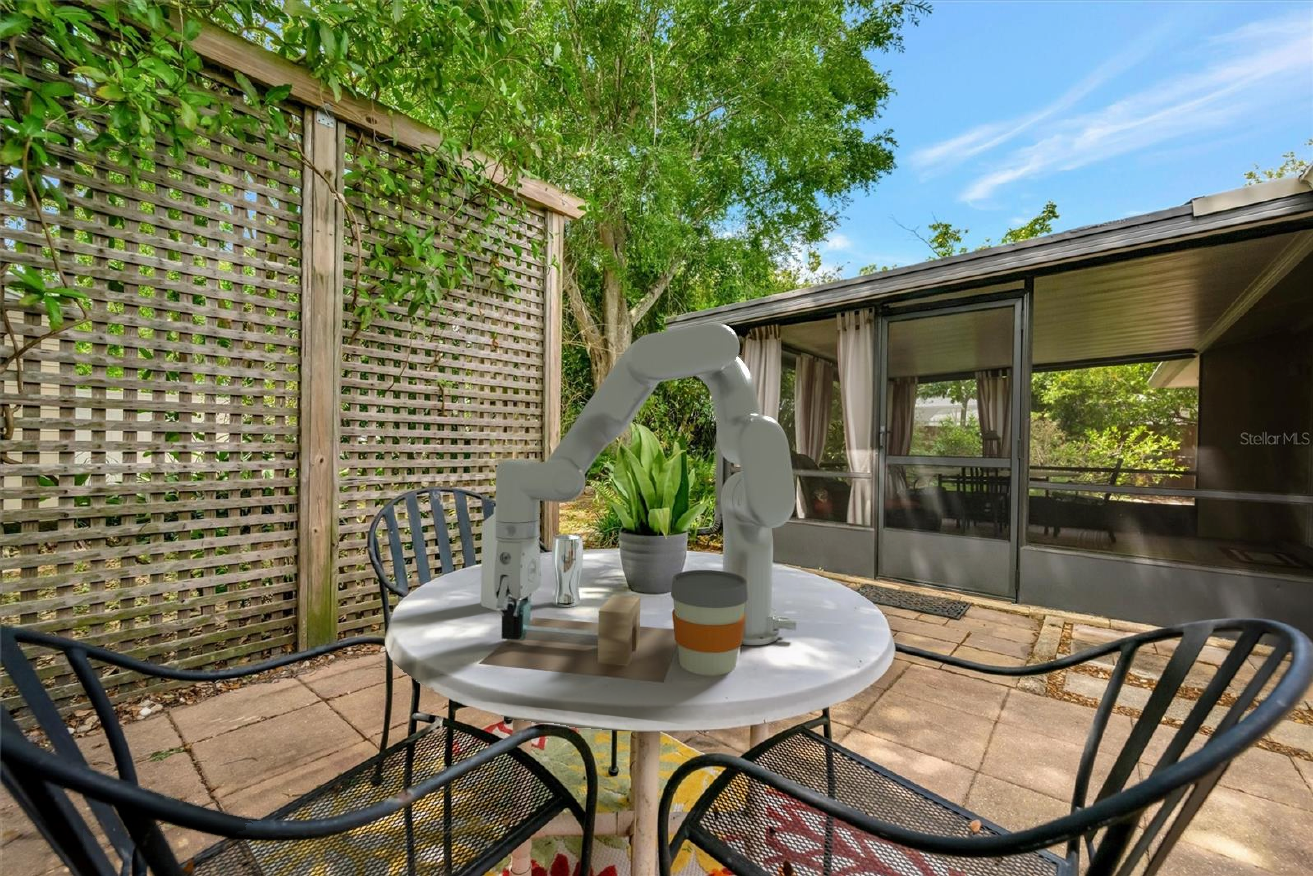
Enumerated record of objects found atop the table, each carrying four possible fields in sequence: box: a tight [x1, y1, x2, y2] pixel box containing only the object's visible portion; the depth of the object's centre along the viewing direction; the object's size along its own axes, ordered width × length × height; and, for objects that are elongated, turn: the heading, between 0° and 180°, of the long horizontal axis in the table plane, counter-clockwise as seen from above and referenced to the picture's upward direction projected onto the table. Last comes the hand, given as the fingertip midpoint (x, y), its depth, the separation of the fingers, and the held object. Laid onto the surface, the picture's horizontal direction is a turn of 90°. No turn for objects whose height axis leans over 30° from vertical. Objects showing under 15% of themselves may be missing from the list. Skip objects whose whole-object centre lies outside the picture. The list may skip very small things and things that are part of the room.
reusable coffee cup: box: [670, 569, 748, 676], centre depth 90 cm, size 13×13×15 cm
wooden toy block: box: [598, 594, 641, 666], centre depth 93 cm, size 5×9×8 cm, turn 170°
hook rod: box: [500, 600, 598, 646], centre depth 95 cm, size 21×3×6 cm, turn 80°
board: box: [478, 617, 678, 683], centre depth 97 cm, size 30×22×1 cm
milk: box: [480, 506, 512, 612], centre depth 118 cm, size 6×6×22 cm
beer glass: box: [551, 533, 584, 608], centre depth 124 cm, size 7×7×15 cm
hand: (516, 633), depth 97 cm, fingers closed on hook rod, 3 cm apart
